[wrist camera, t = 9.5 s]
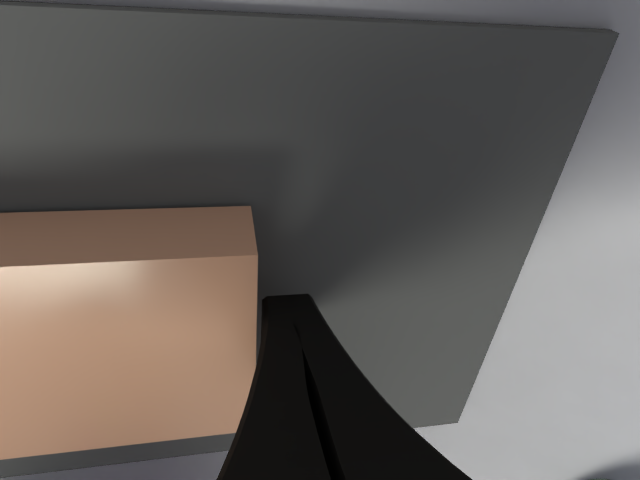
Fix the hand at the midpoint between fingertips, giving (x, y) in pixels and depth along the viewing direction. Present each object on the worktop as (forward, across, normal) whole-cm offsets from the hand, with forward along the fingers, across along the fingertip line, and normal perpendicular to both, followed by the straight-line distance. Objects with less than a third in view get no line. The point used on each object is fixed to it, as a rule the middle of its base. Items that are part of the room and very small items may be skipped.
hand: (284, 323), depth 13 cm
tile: (0, +1, 0) cm, 1 cm away
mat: (+1, +2, 0) cm, 2 cm away
